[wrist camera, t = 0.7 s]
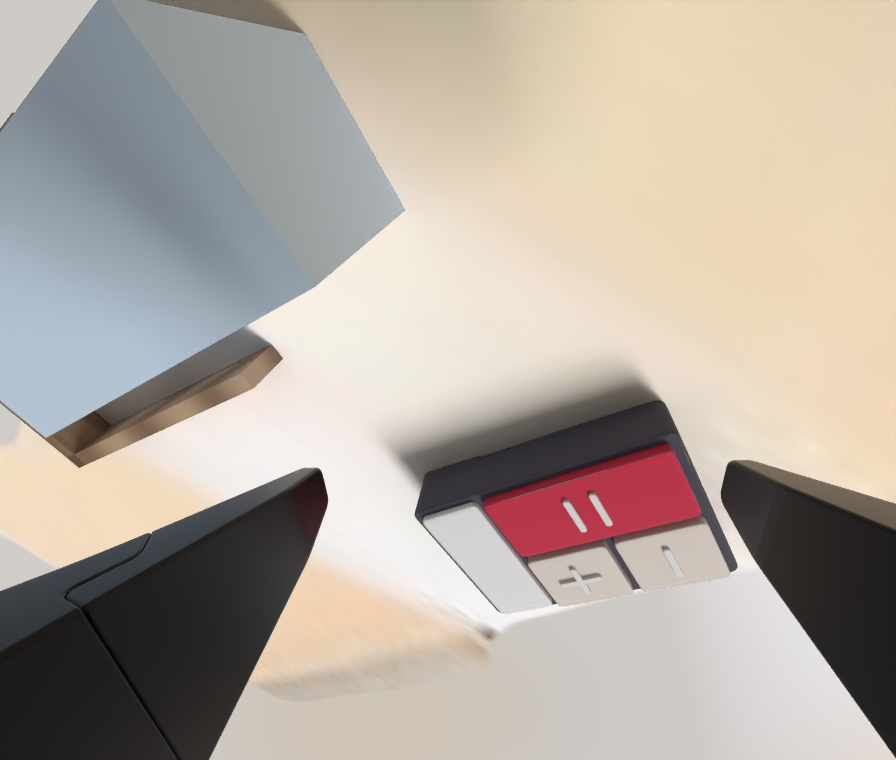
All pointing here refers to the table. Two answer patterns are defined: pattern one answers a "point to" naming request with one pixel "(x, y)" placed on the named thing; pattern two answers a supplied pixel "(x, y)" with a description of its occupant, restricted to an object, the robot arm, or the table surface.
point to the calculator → (579, 515)
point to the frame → (158, 409)
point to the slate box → (168, 200)
